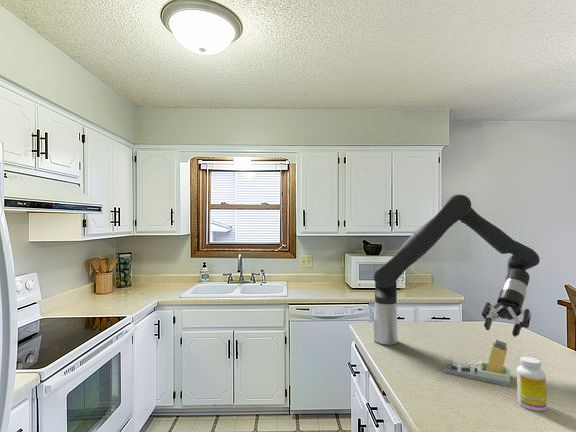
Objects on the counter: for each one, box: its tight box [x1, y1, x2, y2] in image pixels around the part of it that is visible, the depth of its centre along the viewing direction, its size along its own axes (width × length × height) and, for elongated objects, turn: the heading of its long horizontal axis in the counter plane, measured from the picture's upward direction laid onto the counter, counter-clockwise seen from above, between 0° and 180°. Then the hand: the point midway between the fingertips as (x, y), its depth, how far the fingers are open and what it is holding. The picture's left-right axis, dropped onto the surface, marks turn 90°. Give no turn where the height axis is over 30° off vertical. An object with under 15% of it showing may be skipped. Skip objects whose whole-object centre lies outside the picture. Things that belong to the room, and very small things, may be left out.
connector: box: [486, 339, 508, 374], centre depth 111 cm, size 4×4×10 cm
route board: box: [443, 359, 511, 387], centre depth 114 cm, size 19×9×3 cm, turn 57°
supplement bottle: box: [516, 356, 548, 412], centre depth 94 cm, size 7×7×13 cm
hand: (500, 332), depth 115 cm, fingers open, 8 cm apart
